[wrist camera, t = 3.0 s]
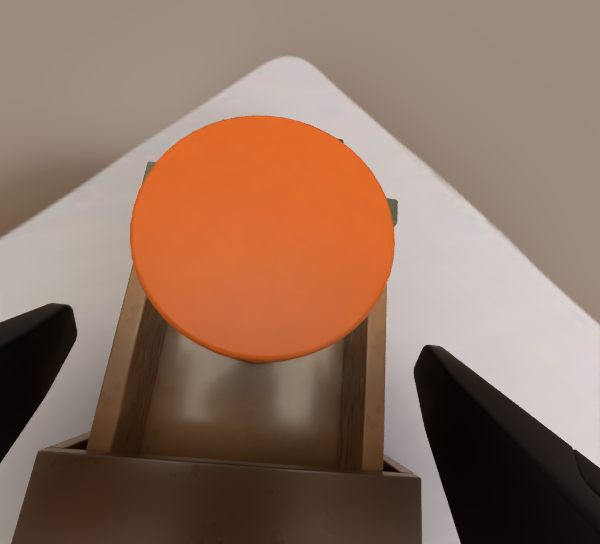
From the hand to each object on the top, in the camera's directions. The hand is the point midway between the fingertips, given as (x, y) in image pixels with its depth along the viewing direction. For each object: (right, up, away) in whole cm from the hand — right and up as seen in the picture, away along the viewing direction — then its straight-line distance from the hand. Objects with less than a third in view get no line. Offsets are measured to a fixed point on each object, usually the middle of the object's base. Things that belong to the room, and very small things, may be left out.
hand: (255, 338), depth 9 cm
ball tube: (-1, 0, +7) cm, 8 cm away
